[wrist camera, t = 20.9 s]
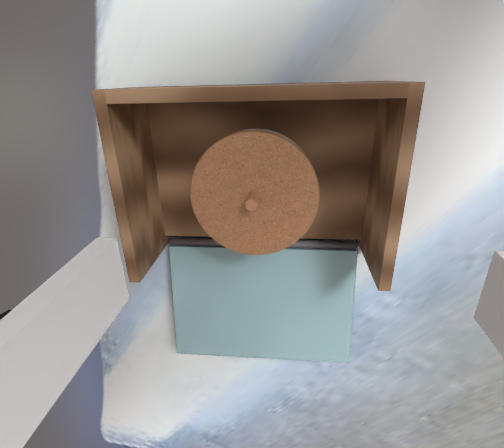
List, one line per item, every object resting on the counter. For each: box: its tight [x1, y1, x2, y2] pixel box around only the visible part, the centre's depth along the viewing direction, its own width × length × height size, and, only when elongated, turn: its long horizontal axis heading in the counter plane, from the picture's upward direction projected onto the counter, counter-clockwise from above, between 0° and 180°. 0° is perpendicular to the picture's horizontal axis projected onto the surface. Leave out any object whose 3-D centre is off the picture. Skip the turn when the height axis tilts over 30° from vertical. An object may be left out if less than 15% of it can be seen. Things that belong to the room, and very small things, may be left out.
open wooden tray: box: [92, 81, 425, 291], centre depth 32 cm, size 17×24×9 cm
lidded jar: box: [190, 128, 320, 255], centre depth 30 cm, size 11×11×9 cm
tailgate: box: [169, 238, 358, 363], centre depth 39 cm, size 1×21×15 cm
